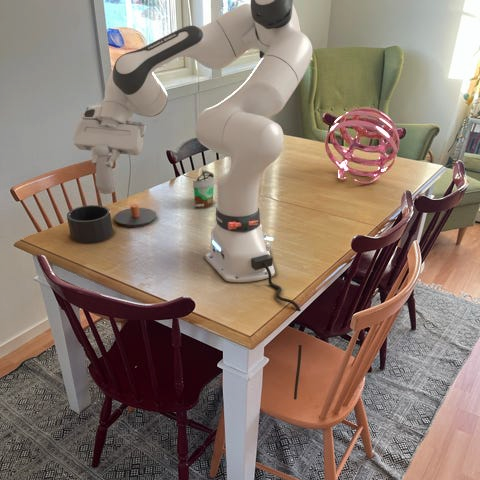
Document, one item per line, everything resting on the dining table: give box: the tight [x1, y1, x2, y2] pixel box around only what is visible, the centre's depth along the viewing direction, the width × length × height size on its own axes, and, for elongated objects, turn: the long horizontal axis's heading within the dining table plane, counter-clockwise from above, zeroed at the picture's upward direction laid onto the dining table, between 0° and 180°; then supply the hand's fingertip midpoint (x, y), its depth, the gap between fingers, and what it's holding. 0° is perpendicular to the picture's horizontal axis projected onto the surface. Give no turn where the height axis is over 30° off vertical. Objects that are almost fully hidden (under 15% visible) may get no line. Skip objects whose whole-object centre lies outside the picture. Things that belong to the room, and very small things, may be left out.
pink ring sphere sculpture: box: [324, 107, 401, 186], centre depth 184 cm, size 28×28×27 cm
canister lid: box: [113, 203, 158, 227], centre depth 157 cm, size 14×14×5 cm
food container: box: [192, 169, 217, 209], centre depth 166 cm, size 12×6×10 cm, turn 168°
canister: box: [66, 204, 114, 244], centre depth 147 cm, size 13×13×7 cm
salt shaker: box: [93, 145, 118, 195], centre depth 135 cm, size 6×6×13 cm
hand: (101, 165), depth 134 cm, fingers closed on salt shaker, 3 cm apart
